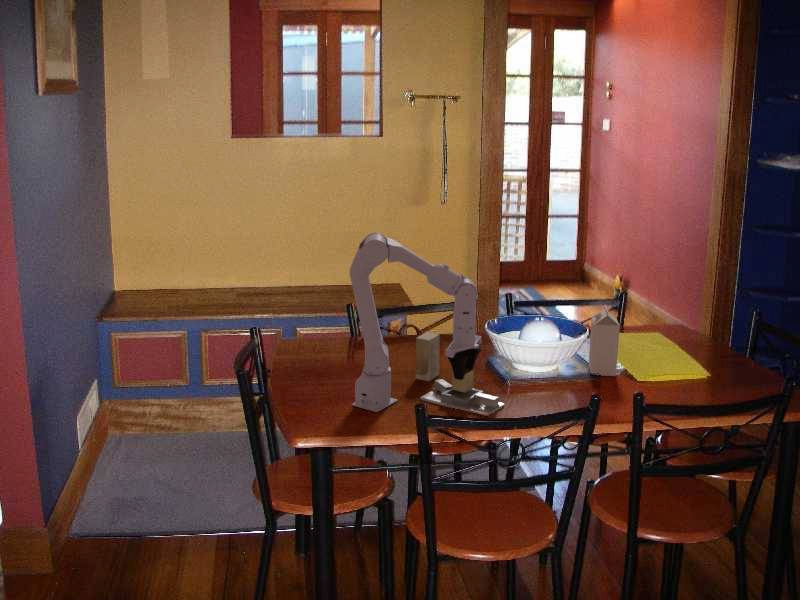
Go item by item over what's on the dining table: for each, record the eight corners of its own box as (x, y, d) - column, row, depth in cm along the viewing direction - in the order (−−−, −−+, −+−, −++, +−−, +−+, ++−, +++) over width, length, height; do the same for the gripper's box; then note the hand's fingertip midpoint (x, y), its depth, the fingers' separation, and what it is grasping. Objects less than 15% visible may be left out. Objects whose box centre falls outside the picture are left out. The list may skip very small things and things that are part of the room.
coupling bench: (487, 417, 235) (487, 403, 234) (420, 399, 246) (420, 386, 245) (504, 406, 242) (505, 393, 241) (438, 389, 253) (438, 377, 252)
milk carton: (613, 368, 271) (617, 305, 266) (616, 376, 264) (620, 312, 259) (588, 367, 272) (592, 304, 267) (590, 375, 265) (594, 311, 260)
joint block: (465, 392, 240) (465, 374, 239) (451, 389, 243) (452, 371, 241) (473, 388, 244) (473, 369, 242) (459, 384, 246) (460, 366, 245)
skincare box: (426, 372, 266) (426, 331, 263) (439, 375, 264) (440, 333, 261) (414, 379, 261) (415, 337, 258) (428, 382, 259) (429, 339, 256)
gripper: (463, 335, 231) (461, 387, 234) (492, 322, 242) (490, 371, 246) (438, 330, 234) (437, 382, 238) (468, 317, 246) (467, 366, 250)
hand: (463, 376), depth 242 cm, fingers closed on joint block, 4 cm apart
